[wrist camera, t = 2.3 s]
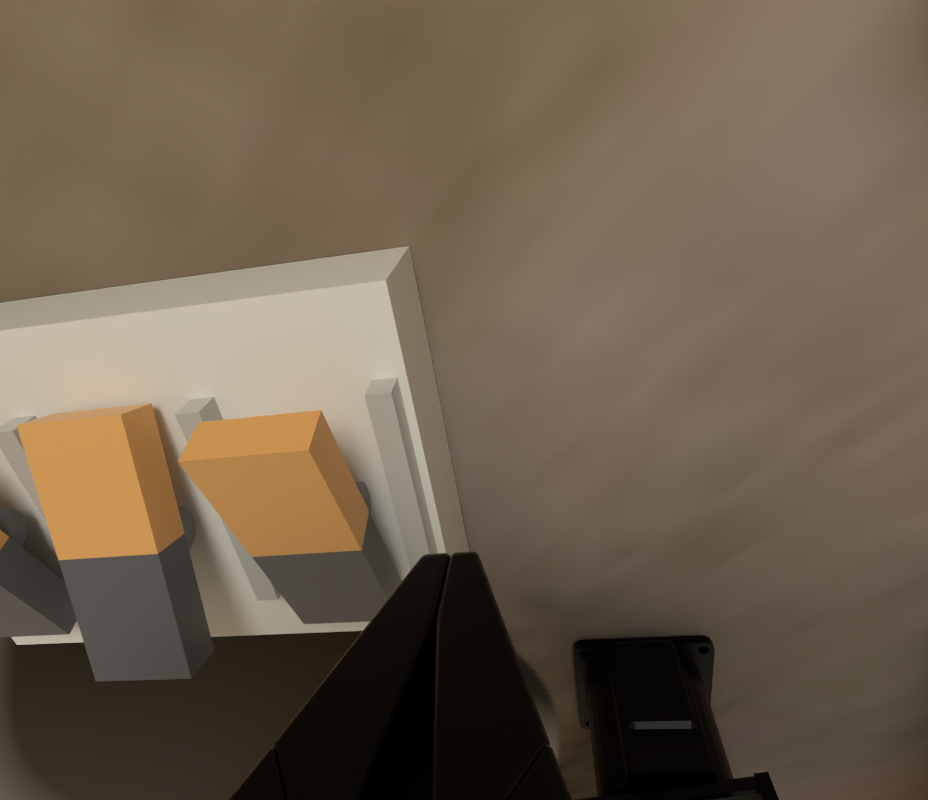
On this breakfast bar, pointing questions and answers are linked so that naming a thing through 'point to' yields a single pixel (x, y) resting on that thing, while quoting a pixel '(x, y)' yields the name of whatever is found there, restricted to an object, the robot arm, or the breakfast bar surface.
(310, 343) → the switch box
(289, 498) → the rocker
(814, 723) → the breakfast bar surface
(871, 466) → the breakfast bar surface
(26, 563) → the block
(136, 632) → the block
